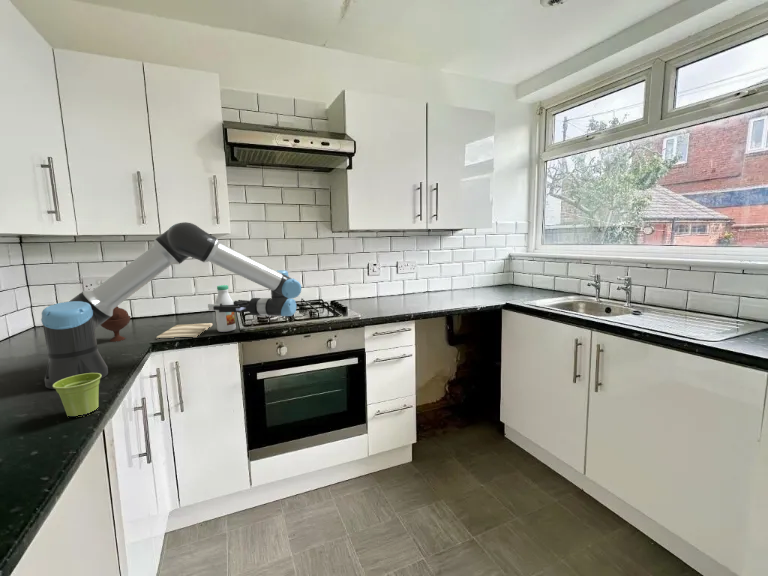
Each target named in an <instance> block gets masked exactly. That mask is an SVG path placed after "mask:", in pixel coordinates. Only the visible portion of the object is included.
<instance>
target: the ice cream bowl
mask: <svg viewBox="0 0 768 576" xmlns="http://www.w3.org/2000/svg"><path fill="white" fill-rule="evenodd" d="M130 321H131V315H129V313H128V311H127V310H126V309H124V308H121V307H119V305H118V306H117V307H115V308H114V309H113V316H111V317H110V318H109V319H107V320H106V321H105V322H103V323H102V324H101V325H100V326H101V327H102V328H103V329H105V330H108V331H111V332H113V334H114V335H113V337H112V338H110V339H109V342H111V343H114V342H115V343H116V341H117V342H120V341H121V340H122V341H125V340H126V337H124V336H122V335H120V330H122V329H125V328H126V326H128V324H129V323H130ZM124 339H125V340H124Z"/></svg>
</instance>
